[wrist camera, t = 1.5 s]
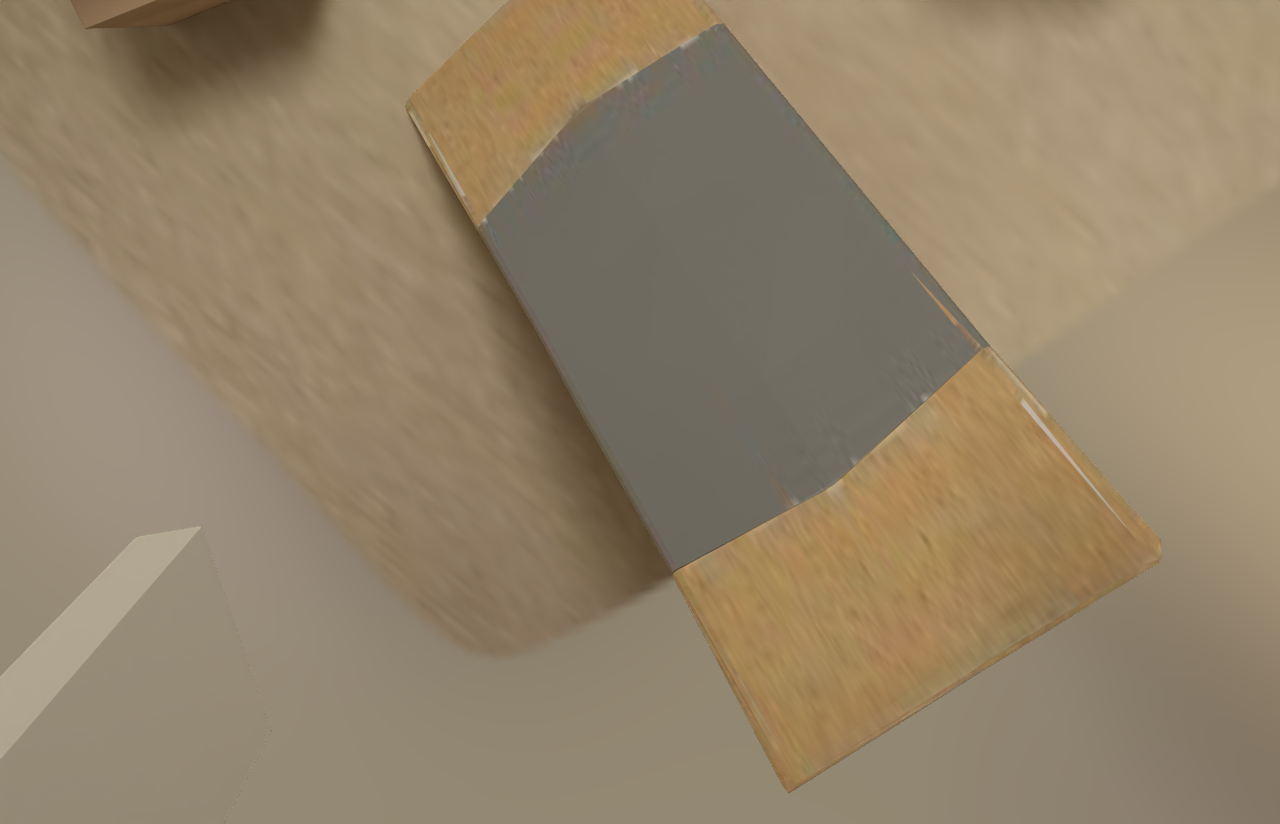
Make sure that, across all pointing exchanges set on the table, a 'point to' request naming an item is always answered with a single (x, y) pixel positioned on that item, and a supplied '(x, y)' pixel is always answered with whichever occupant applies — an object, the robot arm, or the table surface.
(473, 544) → the table surface
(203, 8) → the walnut cube
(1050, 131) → the table surface
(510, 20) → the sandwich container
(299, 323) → the table surface
